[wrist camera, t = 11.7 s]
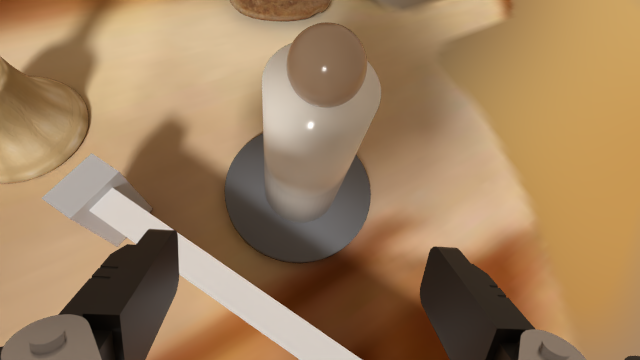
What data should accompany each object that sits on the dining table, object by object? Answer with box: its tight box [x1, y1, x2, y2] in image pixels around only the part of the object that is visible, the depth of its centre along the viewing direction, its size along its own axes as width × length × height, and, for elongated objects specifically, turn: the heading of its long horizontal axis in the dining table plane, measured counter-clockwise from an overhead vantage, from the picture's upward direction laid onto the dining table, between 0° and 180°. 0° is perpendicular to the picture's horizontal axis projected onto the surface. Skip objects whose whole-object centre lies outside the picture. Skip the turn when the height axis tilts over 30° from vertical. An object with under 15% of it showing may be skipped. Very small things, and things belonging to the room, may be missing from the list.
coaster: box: [225, 134, 371, 263], centre depth 24 cm, size 10×10×1 cm
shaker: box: [262, 23, 381, 223], centre depth 18 cm, size 5×5×14 cm
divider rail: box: [42, 153, 362, 360], centre depth 18 cm, size 26×3×6 cm, turn 58°
